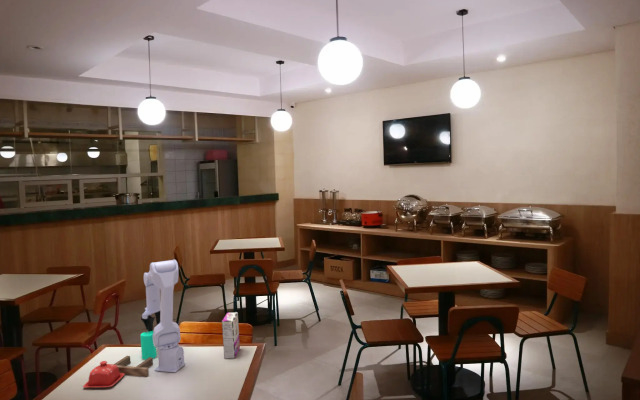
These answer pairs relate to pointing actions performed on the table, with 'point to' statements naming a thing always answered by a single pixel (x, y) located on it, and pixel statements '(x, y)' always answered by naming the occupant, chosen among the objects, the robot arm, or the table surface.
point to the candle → (147, 345)
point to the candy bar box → (230, 335)
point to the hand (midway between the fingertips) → (154, 328)
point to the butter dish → (104, 376)
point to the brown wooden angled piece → (134, 371)
